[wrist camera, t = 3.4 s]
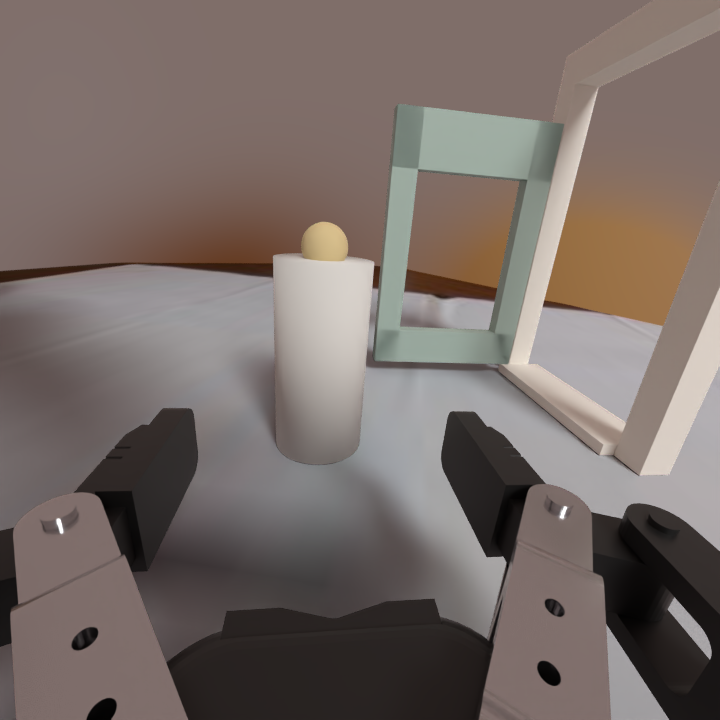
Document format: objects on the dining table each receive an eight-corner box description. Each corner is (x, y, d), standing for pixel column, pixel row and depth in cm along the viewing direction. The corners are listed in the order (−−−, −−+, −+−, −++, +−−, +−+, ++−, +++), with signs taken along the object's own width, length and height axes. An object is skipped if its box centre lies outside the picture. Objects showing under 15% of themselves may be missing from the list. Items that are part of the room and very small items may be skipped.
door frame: (624, 475, 21) (891, -178, 12) (489, 363, 38) (555, 54, 28) (683, 474, 22) (984, -152, 12) (524, 364, 38) (600, 61, 29)
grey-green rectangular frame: (495, 354, 37) (543, 131, 30) (507, 364, 34) (564, 123, 27) (370, 350, 35) (390, 114, 28) (374, 360, 33) (397, 103, 26)
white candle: (271, 465, 20) (265, 218, 15) (280, 417, 25) (278, 218, 20) (364, 464, 21) (385, 226, 16) (355, 417, 25) (369, 225, 21)
